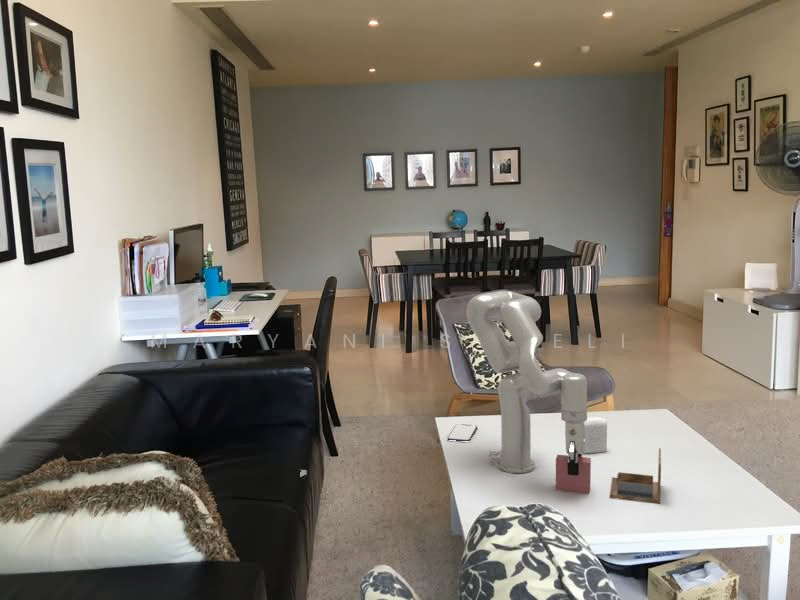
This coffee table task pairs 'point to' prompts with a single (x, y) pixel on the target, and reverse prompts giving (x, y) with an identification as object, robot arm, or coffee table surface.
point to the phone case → (462, 432)
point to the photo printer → (595, 435)
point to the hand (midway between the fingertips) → (574, 468)
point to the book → (573, 481)
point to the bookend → (635, 490)
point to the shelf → (641, 480)
